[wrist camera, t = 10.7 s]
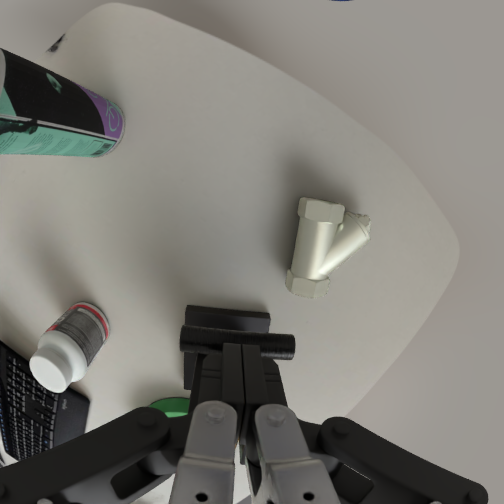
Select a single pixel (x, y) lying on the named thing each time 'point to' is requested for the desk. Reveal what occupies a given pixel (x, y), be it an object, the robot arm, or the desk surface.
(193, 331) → the faucet lever
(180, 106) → the desk surface
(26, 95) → the spray can
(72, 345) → the pill bottle
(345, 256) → the pipe fitting
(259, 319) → the black mounting base
